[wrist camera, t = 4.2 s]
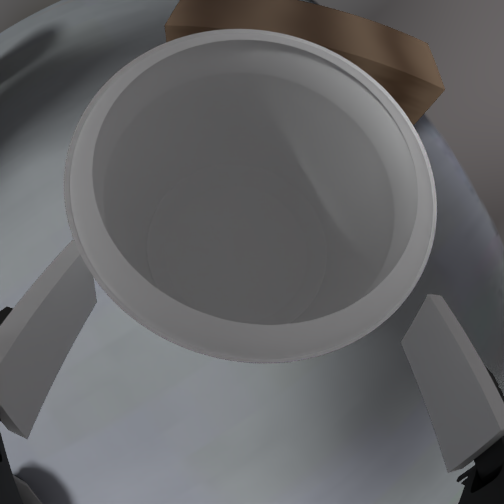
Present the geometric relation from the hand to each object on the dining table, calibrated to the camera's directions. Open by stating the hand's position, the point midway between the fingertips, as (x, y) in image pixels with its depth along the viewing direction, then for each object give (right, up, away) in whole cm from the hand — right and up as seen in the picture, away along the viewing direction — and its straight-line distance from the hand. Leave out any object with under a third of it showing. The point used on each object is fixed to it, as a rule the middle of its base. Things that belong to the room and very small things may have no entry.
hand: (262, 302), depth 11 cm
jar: (-2, +1, +11) cm, 11 cm away
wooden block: (+3, +16, +15) cm, 22 cm away
